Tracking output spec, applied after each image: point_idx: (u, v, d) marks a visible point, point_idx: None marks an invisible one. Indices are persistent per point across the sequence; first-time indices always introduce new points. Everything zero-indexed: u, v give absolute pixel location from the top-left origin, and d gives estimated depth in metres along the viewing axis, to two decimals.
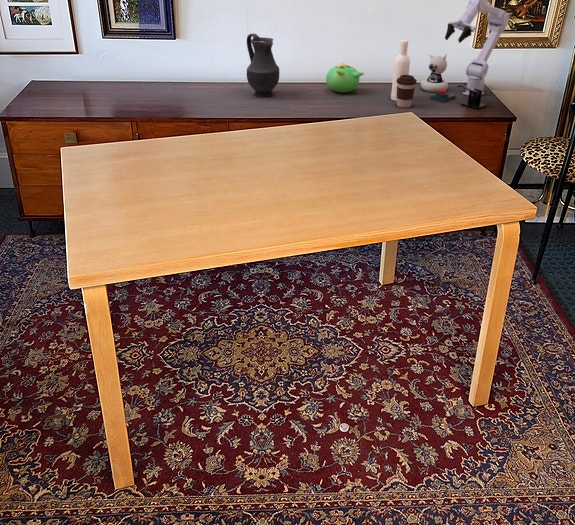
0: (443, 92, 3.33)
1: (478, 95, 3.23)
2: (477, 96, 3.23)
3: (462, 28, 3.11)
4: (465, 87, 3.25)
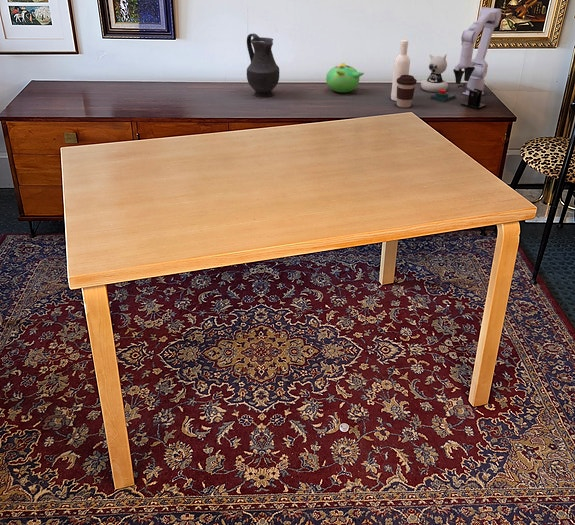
0: (443, 92, 3.33)
1: (478, 95, 3.23)
2: (477, 96, 3.23)
3: (466, 67, 3.23)
4: (465, 87, 3.25)
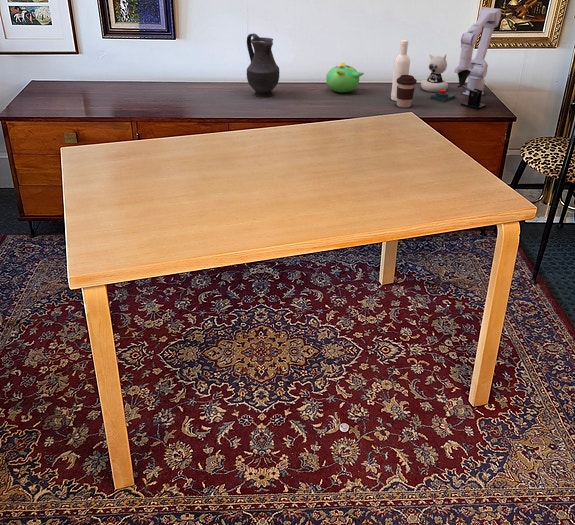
0: (443, 92, 3.33)
1: (478, 95, 3.23)
2: (477, 96, 3.23)
3: (465, 69, 3.24)
4: (465, 87, 3.26)
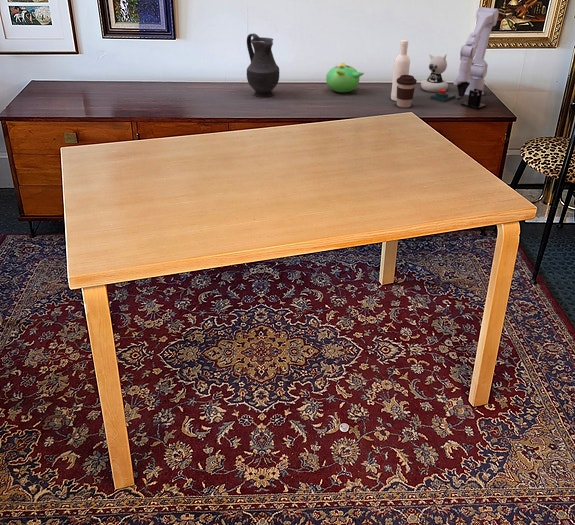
0: (443, 92, 3.33)
1: None
2: (478, 94, 3.23)
3: (464, 81, 3.27)
4: (464, 96, 3.28)
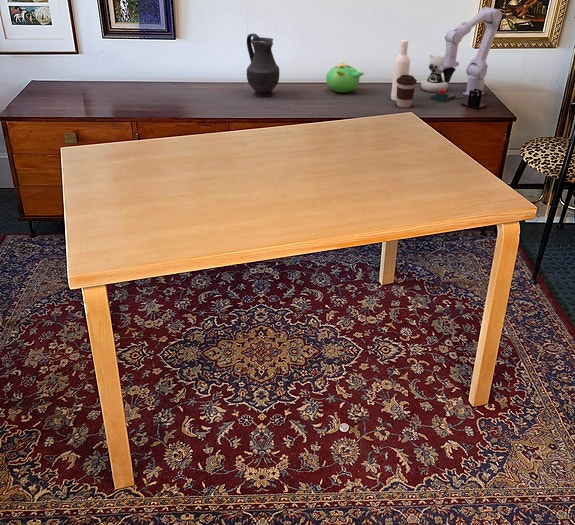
0: (443, 92, 3.33)
1: None
2: (478, 94, 3.23)
3: None
4: (464, 96, 3.28)
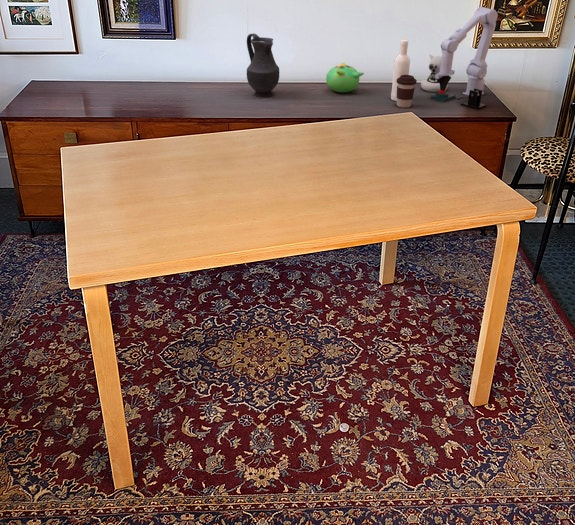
0: (443, 92, 3.33)
1: None
2: (478, 94, 3.23)
3: (446, 75, 3.30)
4: (464, 96, 3.28)
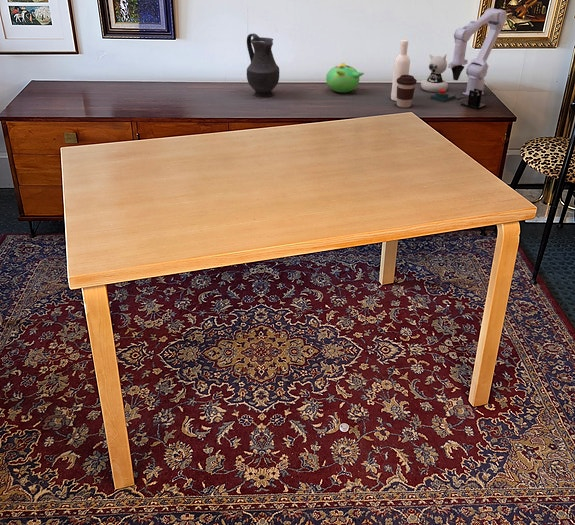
0: (443, 92, 3.33)
1: None
2: (478, 94, 3.23)
3: (459, 65, 3.28)
4: (464, 96, 3.28)
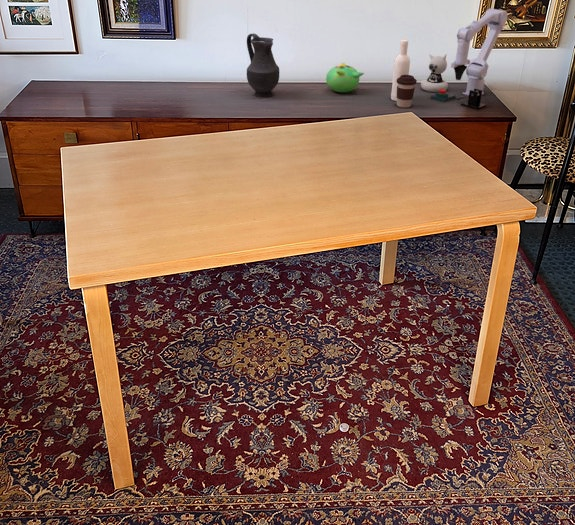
0: (443, 92, 3.33)
1: None
2: (478, 94, 3.23)
3: (462, 65, 3.28)
4: (464, 96, 3.28)
